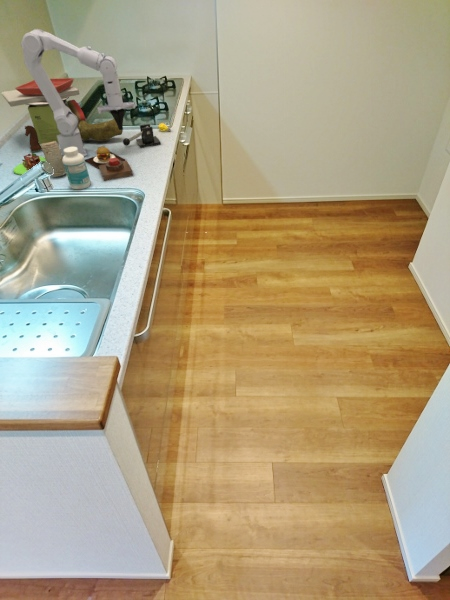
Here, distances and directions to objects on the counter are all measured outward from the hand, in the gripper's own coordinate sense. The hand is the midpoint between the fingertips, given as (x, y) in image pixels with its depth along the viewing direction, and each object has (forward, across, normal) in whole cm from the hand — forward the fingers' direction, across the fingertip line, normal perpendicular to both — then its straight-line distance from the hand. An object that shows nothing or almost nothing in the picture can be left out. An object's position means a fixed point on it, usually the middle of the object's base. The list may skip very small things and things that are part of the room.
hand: (120, 129), depth 163 cm
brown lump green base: (+10, -36, 0) cm, 37 cm away
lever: (+7, +7, +6) cm, 12 cm away
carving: (+10, -28, -12) cm, 32 cm away
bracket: (+10, +12, +6) cm, 16 cm away
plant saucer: (-10, -23, +30) cm, 39 cm away
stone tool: (+3, -5, +23) cm, 24 cm away
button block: (+10, -8, -19) cm, 23 cm away
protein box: (+10, -25, +30) cm, 40 cm away
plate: (-6, -25, +31) cm, 40 cm away
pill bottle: (+10, -22, -24) cm, 34 cm away
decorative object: (+3, -13, +26) cm, 29 cm away
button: (+6, -8, -19) cm, 22 cm away
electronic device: (-8, -26, +34) cm, 44 cm away
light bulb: (+8, +22, +15) cm, 28 cm away
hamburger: (+10, -9, -5) cm, 15 cm away
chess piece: (+9, -34, +19) cm, 40 cm away
